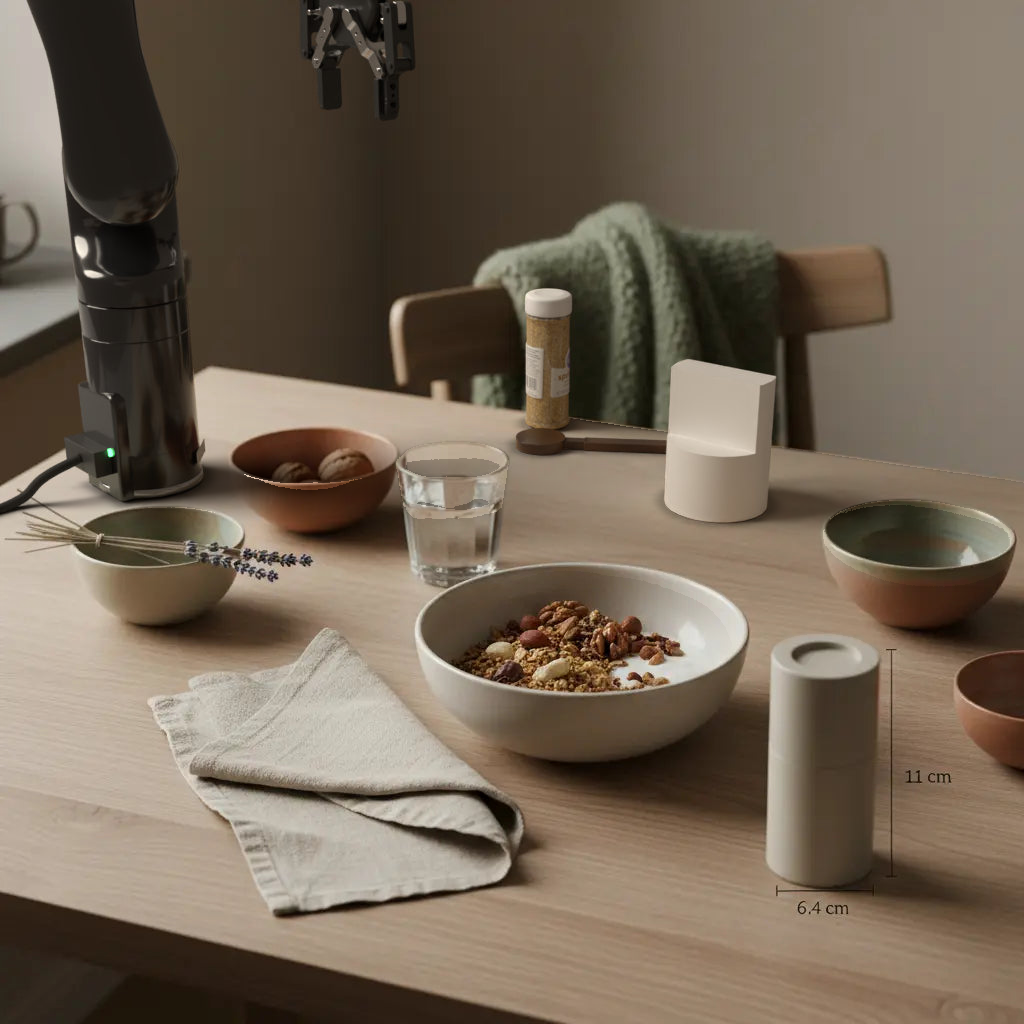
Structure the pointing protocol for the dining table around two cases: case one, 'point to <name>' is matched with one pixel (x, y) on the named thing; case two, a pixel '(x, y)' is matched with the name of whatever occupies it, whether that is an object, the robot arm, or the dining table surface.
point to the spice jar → (547, 357)
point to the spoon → (581, 443)
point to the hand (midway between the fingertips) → (358, 114)
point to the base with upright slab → (718, 442)
